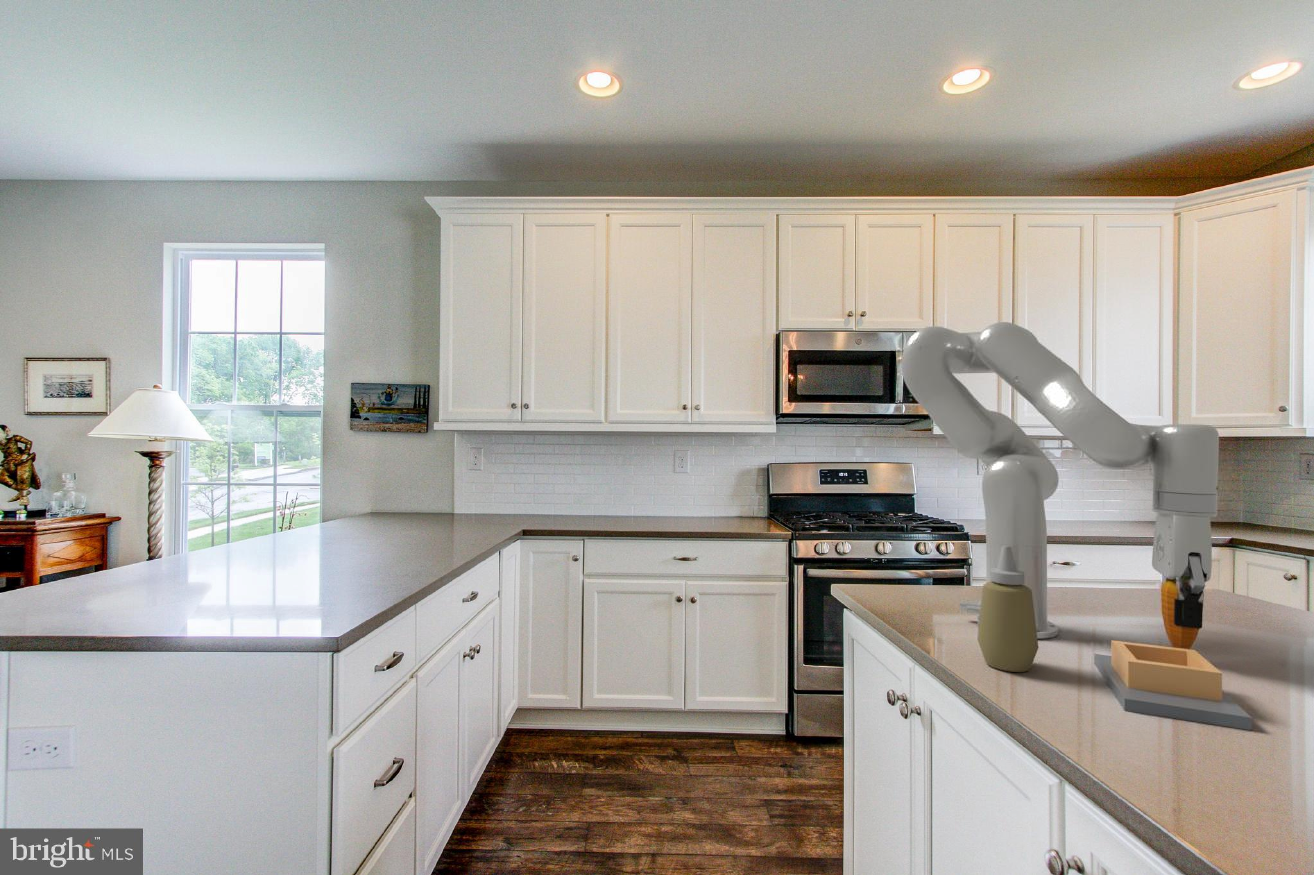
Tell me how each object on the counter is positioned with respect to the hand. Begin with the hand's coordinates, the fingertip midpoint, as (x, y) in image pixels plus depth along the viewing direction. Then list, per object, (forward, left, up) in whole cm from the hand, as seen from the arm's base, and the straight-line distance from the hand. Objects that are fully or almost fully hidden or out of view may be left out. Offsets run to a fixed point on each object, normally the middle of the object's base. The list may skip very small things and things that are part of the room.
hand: (1181, 620), depth 93 cm
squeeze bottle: (-24, -14, -6) cm, 29 cm away
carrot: (0, 0, -6) cm, 6 cm away
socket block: (-6, -16, -6) cm, 19 cm away
